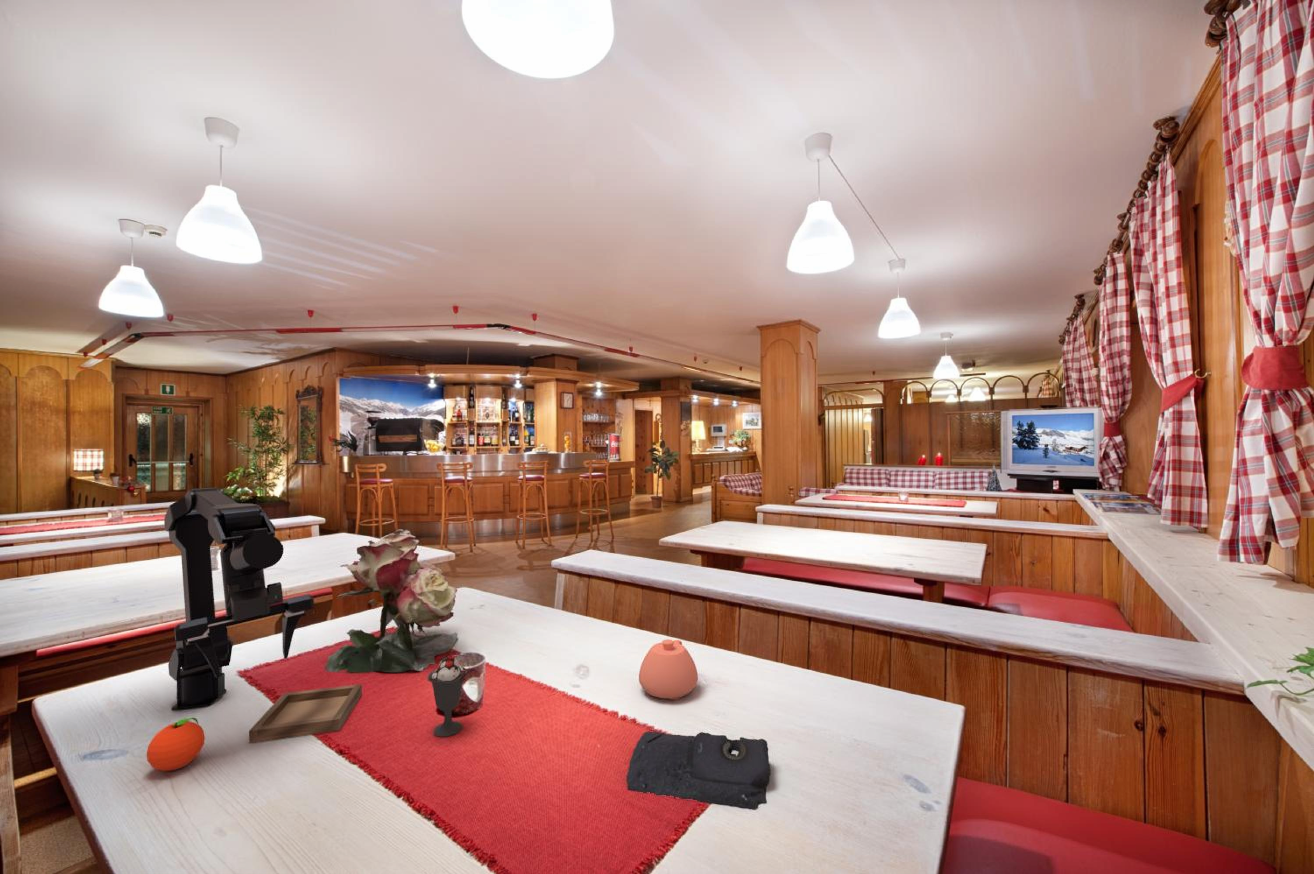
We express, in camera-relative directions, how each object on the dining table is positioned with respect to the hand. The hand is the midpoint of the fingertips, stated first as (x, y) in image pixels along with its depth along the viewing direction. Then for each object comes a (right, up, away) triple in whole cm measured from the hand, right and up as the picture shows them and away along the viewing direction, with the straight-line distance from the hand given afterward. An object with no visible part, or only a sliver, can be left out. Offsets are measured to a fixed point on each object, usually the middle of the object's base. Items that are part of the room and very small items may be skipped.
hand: (253, 667), depth 89 cm
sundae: (+31, -14, +5) cm, 35 cm away
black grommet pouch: (+76, -14, -7) cm, 78 cm away
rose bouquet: (+6, -14, +41) cm, 43 cm away
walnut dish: (+3, -14, +10) cm, 17 cm away
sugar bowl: (+72, -13, +20) cm, 76 cm away
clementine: (-8, -14, -5) cm, 17 cm away
